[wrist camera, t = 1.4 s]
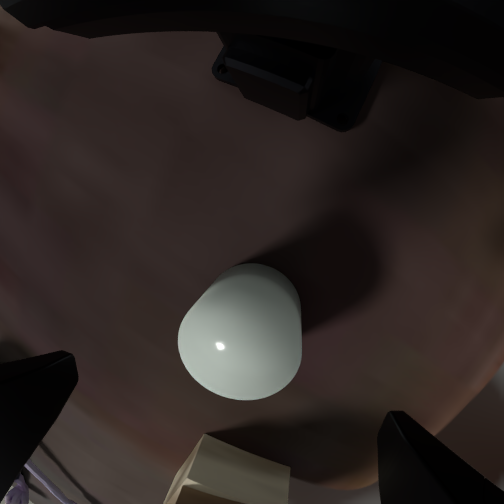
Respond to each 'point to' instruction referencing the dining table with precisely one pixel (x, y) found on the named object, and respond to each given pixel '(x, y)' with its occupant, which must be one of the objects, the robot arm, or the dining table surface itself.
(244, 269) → the grey rounded cylinder
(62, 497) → the toy
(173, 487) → the base block
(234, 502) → the top block
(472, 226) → the dining table surface
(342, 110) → the robot arm
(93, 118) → the dining table surface
